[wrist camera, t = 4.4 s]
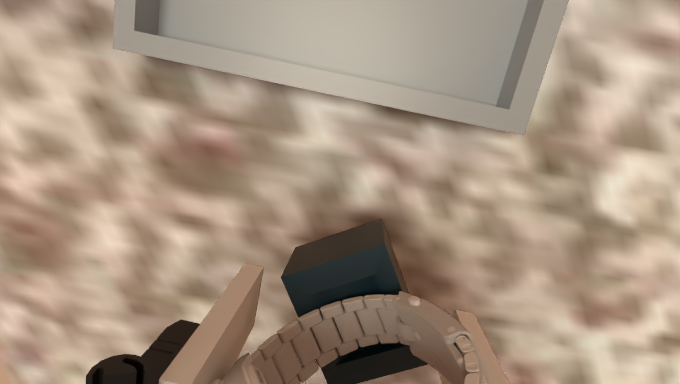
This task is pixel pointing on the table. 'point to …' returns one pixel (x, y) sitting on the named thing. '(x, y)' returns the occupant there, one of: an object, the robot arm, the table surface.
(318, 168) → the table surface
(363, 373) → the watch
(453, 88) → the tray
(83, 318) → the table surface
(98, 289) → the table surface
